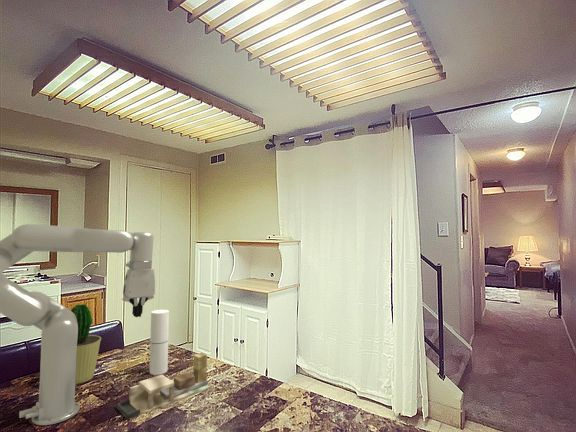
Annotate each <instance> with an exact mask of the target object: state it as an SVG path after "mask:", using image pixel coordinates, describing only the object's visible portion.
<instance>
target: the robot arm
mask: <svg viewBox="0 0 576 432" xmlns="http://www.w3.org/2000/svg"><path fill="white" fill-rule="evenodd" d="M153 248H154V234H153V233H151V232H147V231H146V232H145V231H135V232H130V231H126V230H113V229H98V228H97V229H96V228H95V229H94V228H87V227H80V226H69V225H52V224H51V225H50V224H49V225H48V224H46V225H45V224H32V223H29V224H27V223H26V224H22V225H19V226H17V227H16V228H14V229H13V231H12V233H11V234H9V235H7V236H6V237H4V238H3V239H1V240H0V315H3V316H5V317H6V318H8V319H10V320H11V321H12V322H13V323H16V324H17V325H19V326H24V327H32V326H34V327H35V328H37V329H39V330H40V331H41V335H40V336H41V339H40V366H39V367H40V368H39V369H40V371H39V373H40V374H39V387H38V388H39V389H38V390H39V392H38V393H39V394H38V402H37V401H36V403H35V405H34V406H32V407H31V408H28V409H24V410H19V414H18V416H19V417H18V418H19V419H21V418H25V420H28V419H30V418H31V422H32V424H34V425H37V426H48V425H49V426H50V425H54V424H59V423H61V422H66V421H67V420H69V419H71V418H72V417H74V416H75V415H76V414H78V413H79V411H80V409H81V406H80V403H79V402H77V401H75V400H76V399H75V397H76V396H75V395H76V384H75V377H76V351H77V338H78V323H77V318H76V316H75V314H74V313H73V312H72V311H70V310H71V309H69V308H67V307H66V306H64V305H63V304H61V303H59V302H58V301H56V300H55V299H54V298H52V297H50V296H48V295H47V294H45V293H43V292H41V291H40V292H39V291H29V290H27V289H25V288H24V287H22V286H21V285H19V284H18V283H16V282H15V281H12V280H11V279H9V278H7V276H5V274H4V272H5V271H6V270H8V269H9V268H10V267H12V266H14V265H15V264H17V263H18V262H20V261H21V260H23V259H24V258H26V257H27V256H29V255H30V254H32V253H33V252H50V253H51V252H53V253H54V252H55V253H56V252H57V253H59V252H60V253H86V252H87V253H114V254H115V253H117V254H118V253H126V252H128V251H130V254H129V260H128V262H126V263H125V264H124V265H125V267H128V269H127V270H126V273H125V276H124V277H125V278H124V282H123V287H122V289H123V290H122V302H123V301H124V302H128V303H130V304H131V305H132V311H131V312H132V315H133V317H134V318H141V317H142V314H143V310H144V306H145V303H146V302H148V301H149V300H152V299H154V295H156V294H155V293H156V277H155V276H156V275H155V269H153V268H152V265H153V250H154V249H153Z"/></svg>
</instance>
